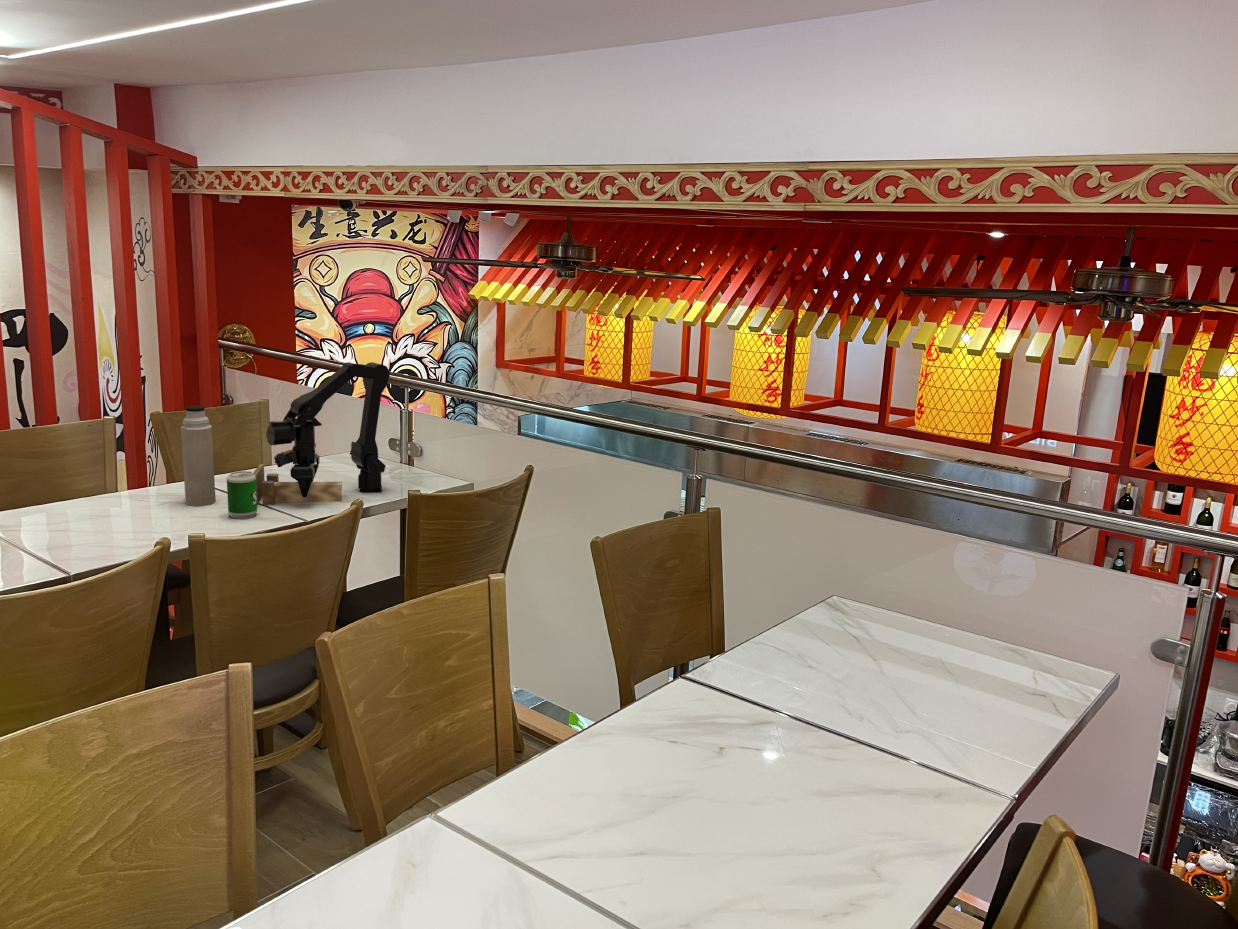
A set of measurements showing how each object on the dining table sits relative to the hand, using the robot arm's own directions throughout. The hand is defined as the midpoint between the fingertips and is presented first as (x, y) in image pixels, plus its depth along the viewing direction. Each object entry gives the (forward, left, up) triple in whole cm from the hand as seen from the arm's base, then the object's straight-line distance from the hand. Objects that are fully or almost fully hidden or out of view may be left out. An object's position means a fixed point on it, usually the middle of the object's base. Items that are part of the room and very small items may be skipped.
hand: (306, 493), depth 281 cm
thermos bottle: (+29, +2, -2) cm, 29 cm away
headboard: (+11, 0, -2) cm, 11 cm away
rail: (0, 0, -2) cm, 2 cm away
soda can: (+15, +16, -2) cm, 22 cm away
